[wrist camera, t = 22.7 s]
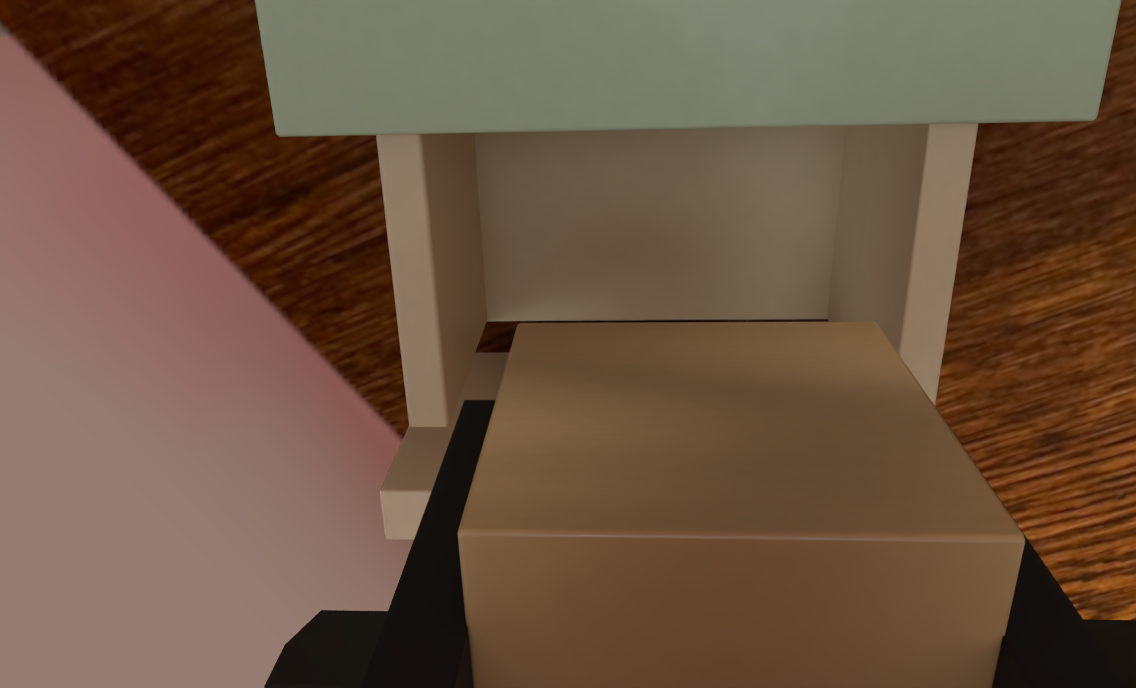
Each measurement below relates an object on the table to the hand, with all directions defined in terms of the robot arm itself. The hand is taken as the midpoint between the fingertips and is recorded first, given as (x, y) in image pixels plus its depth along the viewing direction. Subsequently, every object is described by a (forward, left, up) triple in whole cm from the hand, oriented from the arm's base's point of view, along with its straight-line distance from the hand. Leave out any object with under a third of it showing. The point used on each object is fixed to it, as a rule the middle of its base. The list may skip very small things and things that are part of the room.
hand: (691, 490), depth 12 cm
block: (0, 0, 0) cm, 0 cm away
